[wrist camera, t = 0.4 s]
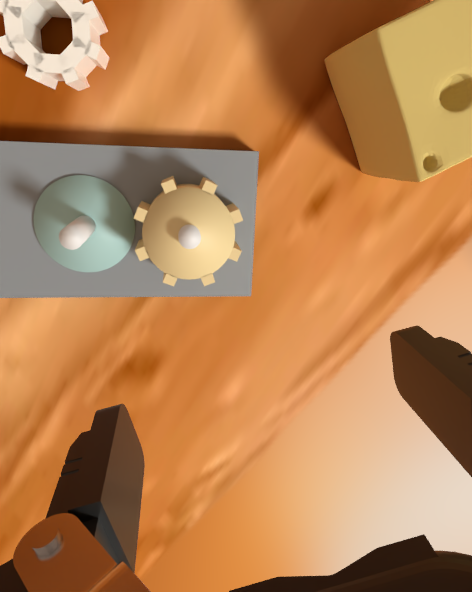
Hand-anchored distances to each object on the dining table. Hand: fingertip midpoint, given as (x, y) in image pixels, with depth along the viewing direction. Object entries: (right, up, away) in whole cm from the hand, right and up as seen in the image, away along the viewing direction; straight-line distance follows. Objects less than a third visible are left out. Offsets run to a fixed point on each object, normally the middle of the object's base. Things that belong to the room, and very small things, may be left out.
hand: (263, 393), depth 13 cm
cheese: (+12, +20, +23) cm, 33 cm away
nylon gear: (-13, +21, +19) cm, 31 cm away
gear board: (-10, +9, +23) cm, 27 cm away
